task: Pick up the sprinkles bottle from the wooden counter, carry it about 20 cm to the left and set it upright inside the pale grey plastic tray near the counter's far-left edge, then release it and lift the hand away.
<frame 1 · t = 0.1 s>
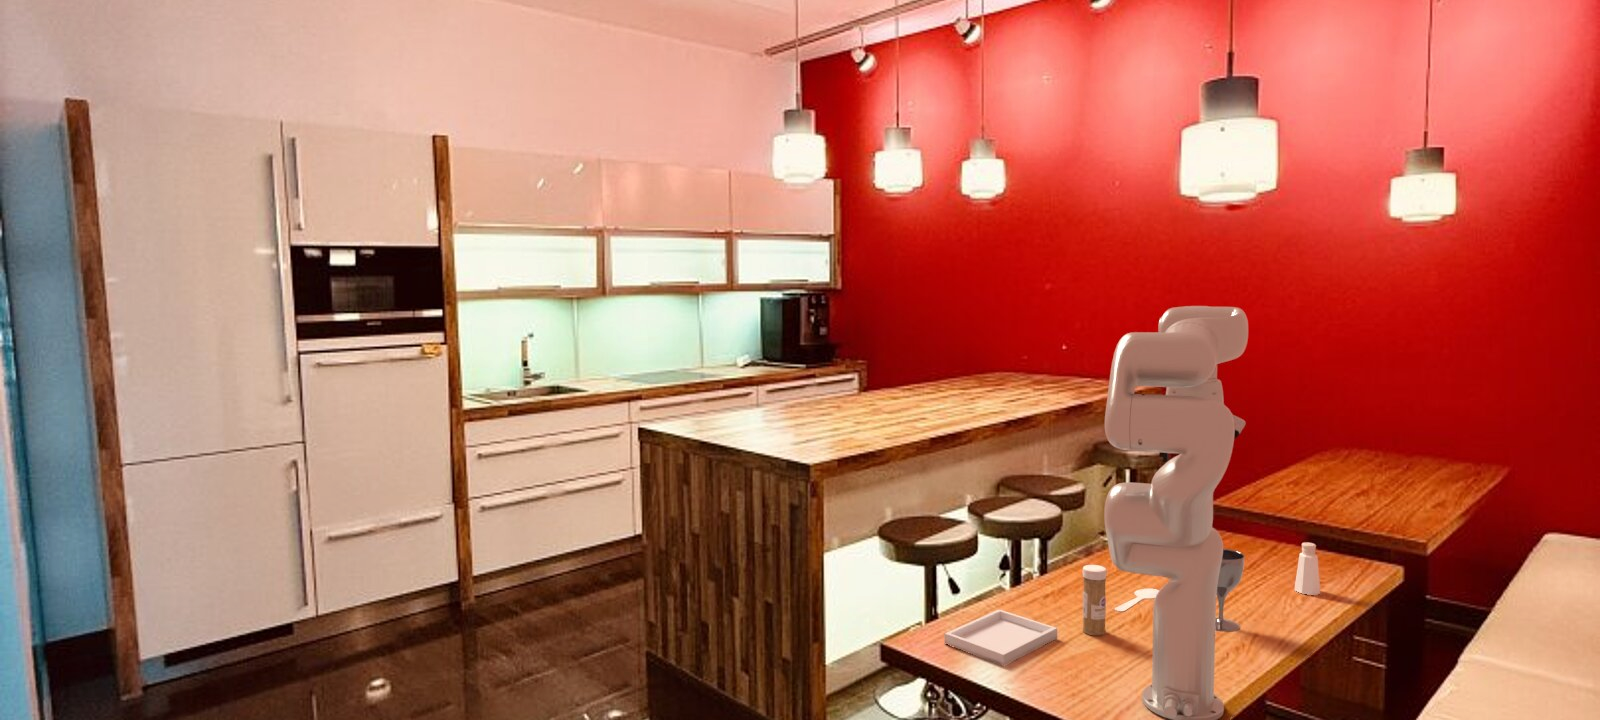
hand: (1193, 462, 167), 37 cm above the table, tool pointing down, fingers open, 9 cm apart
wine glass: (1220, 625, 183), on the table
salt shaker: (1307, 592, 200), on the table
sprinkles bottle: (1093, 632, 181), on the table
tray: (1001, 641, 177), on the table
spoon: (1137, 602, 197), on the table
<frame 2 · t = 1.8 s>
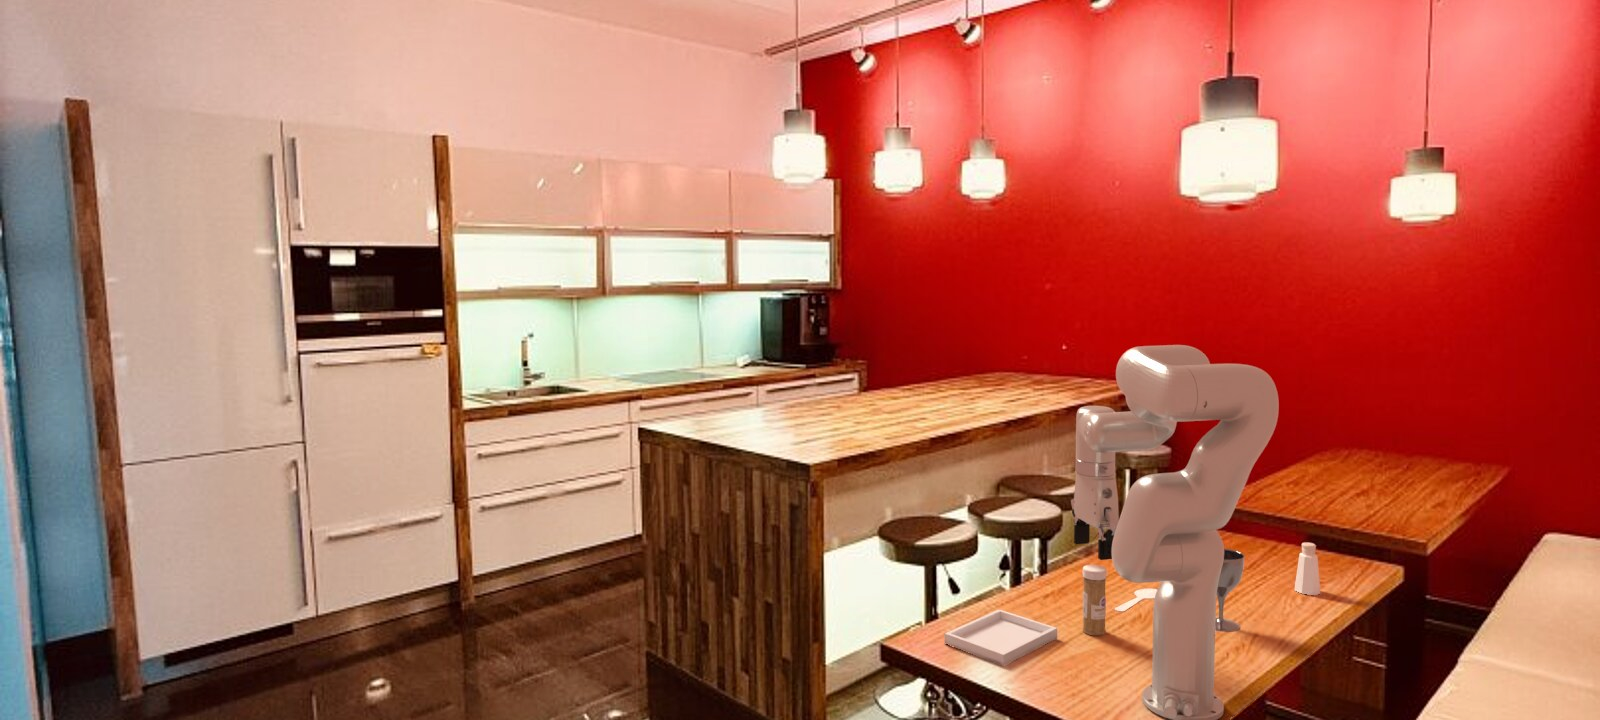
hand: (1093, 551, 179), 17 cm above the table, tool pointing down, fingers open, 9 cm apart
nothing on the table moved.
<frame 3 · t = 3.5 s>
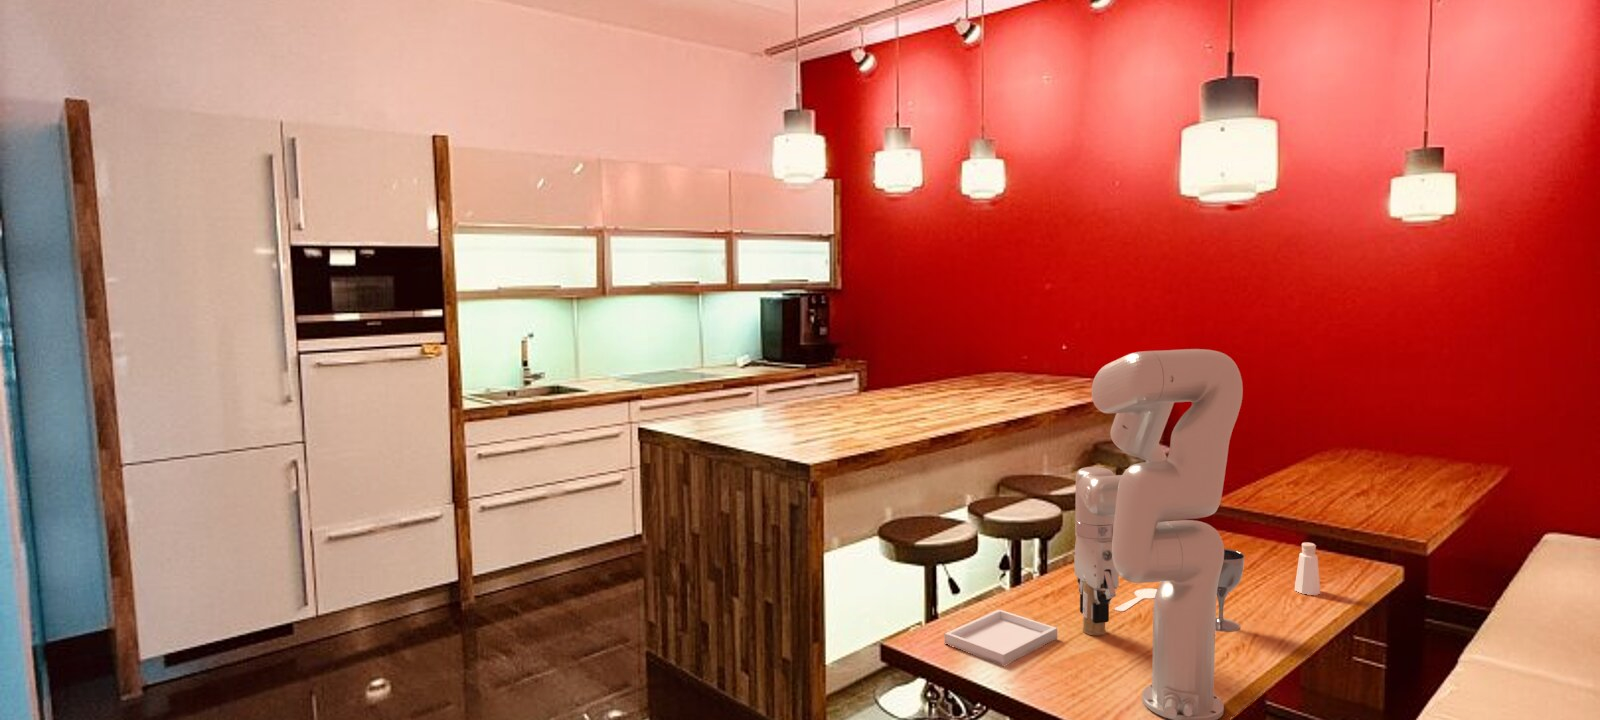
hand: (1094, 616, 180), 3 cm above the table, tool pointing down, fingers closed on sprinkles bottle, 4 cm apart
sprinkles bottle: (1093, 632, 181), on the table, touching gripper
everything else where it was.
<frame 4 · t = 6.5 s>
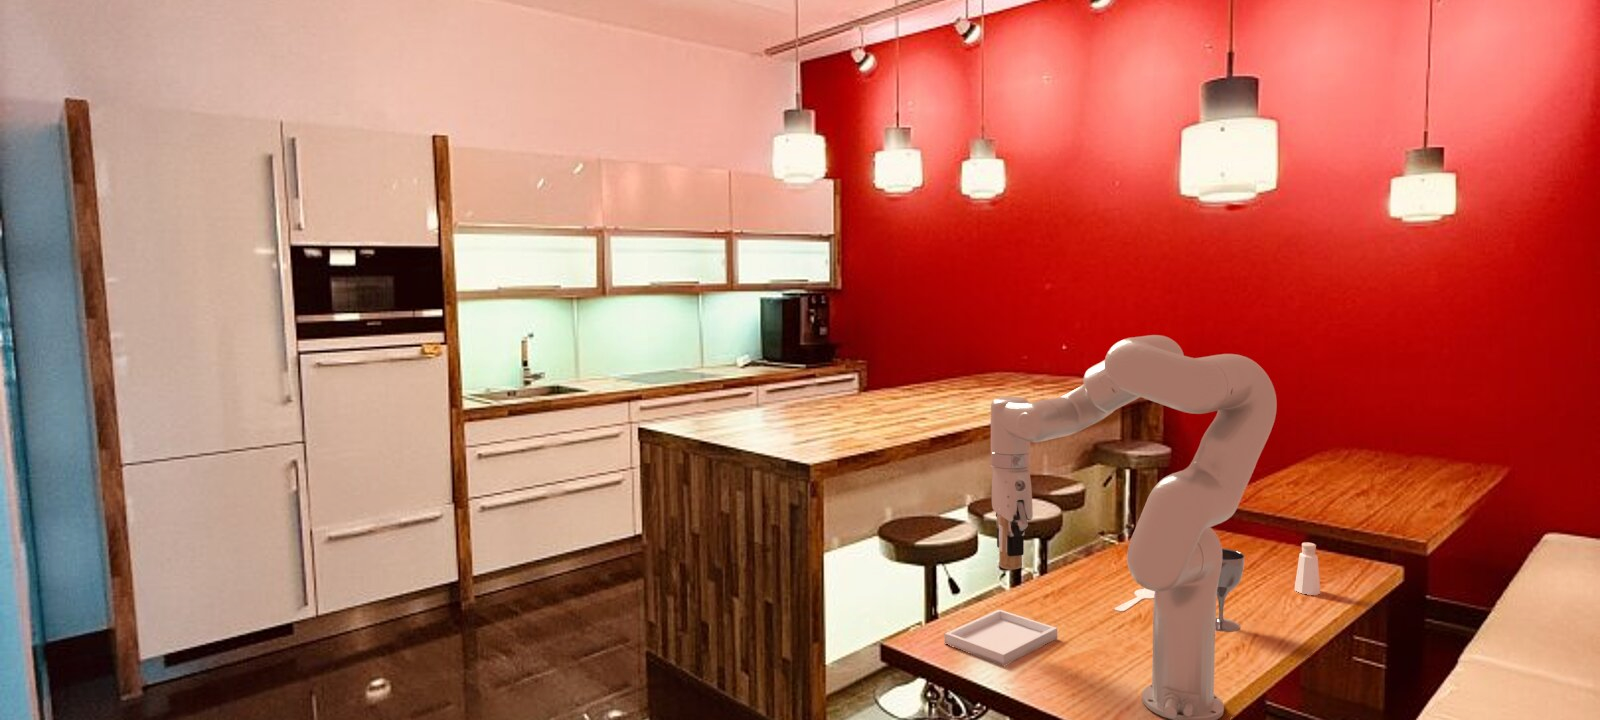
hand: (1010, 550, 176), 18 cm above the table, tool pointing down, fingers closed on sprinkles bottle, 4 cm apart
sprinkles bottle: (1010, 567, 176), point 15 cm above the table, touching gripper
everything else where it was.
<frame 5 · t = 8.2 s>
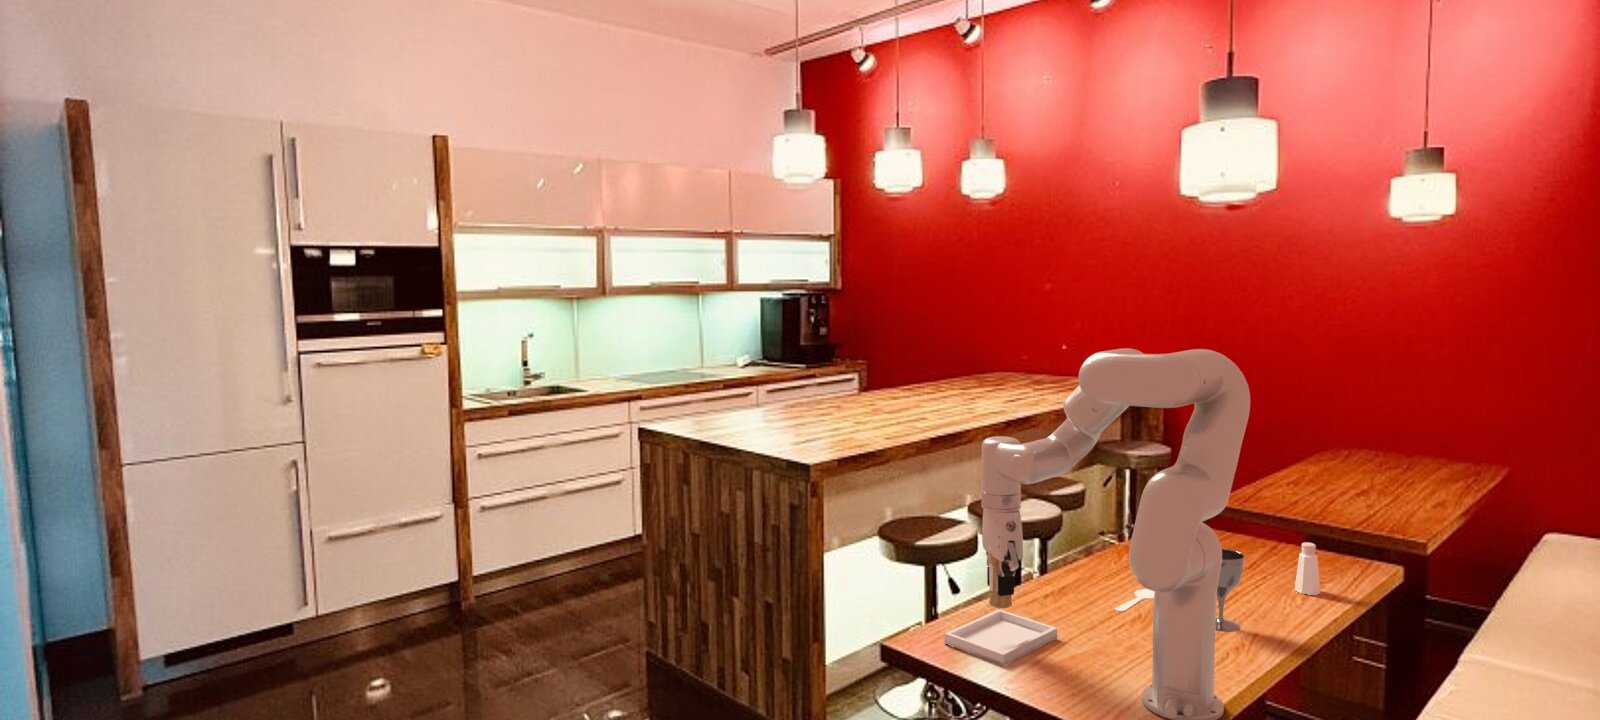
hand: (1000, 589, 176), 11 cm above the table, tool pointing down, fingers closed on sprinkles bottle, 4 cm apart
sprinkles bottle: (1000, 606, 176), point 7 cm above the table, touching gripper
everything else where it was.
when the fingers open (5 cm above the table, at t = 9.5 s): sprinkles bottle drops 1 cm, resting on tray.
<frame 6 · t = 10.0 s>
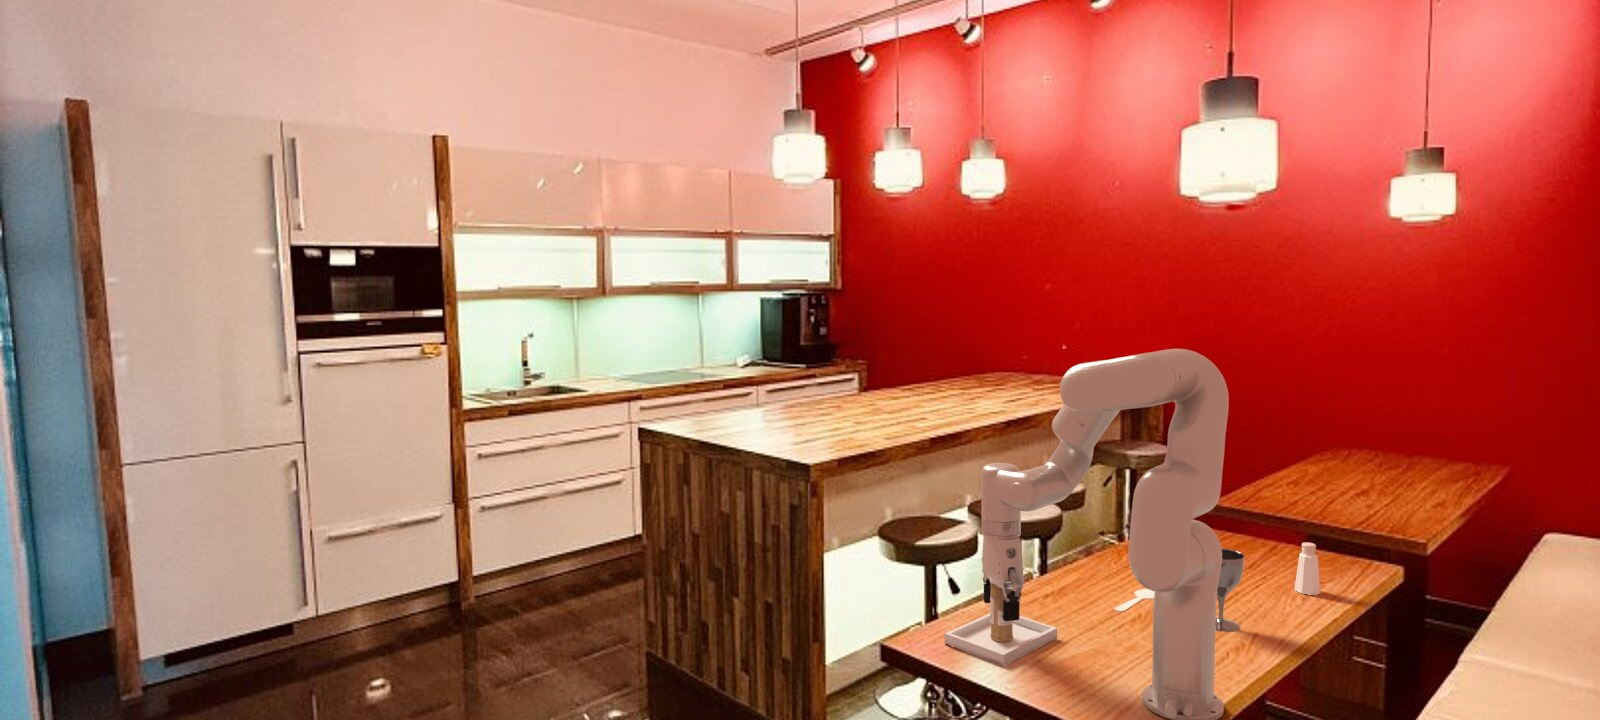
hand: (1001, 610, 176), 6 cm above the table, tool pointing down, fingers open, 9 cm apart
sprinkles bottle: (1001, 639, 177), resting on tray
everything else where it was.
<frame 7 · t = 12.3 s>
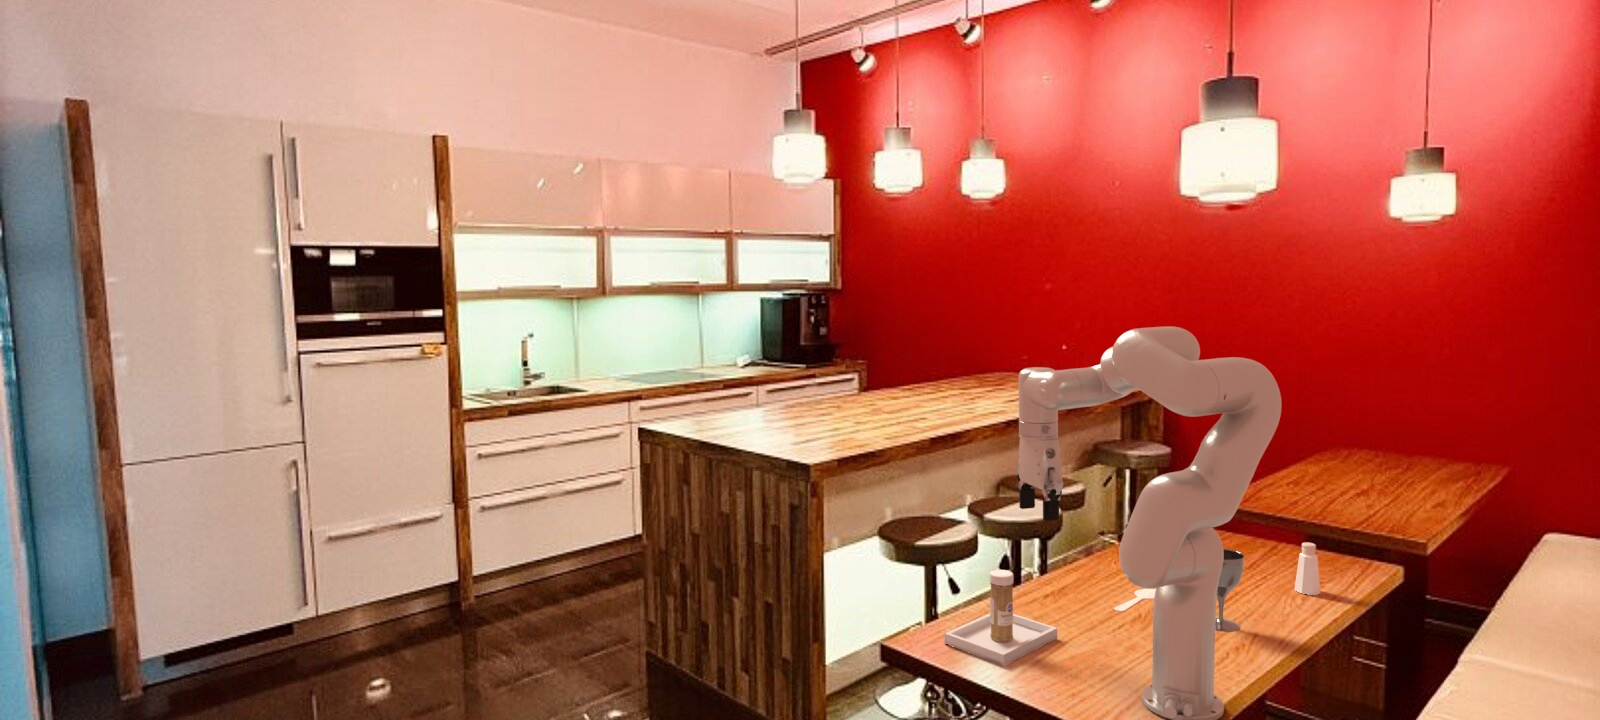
hand: (1038, 513, 178), 25 cm above the table, tool pointing down, fingers open, 9 cm apart
nothing on the table moved.
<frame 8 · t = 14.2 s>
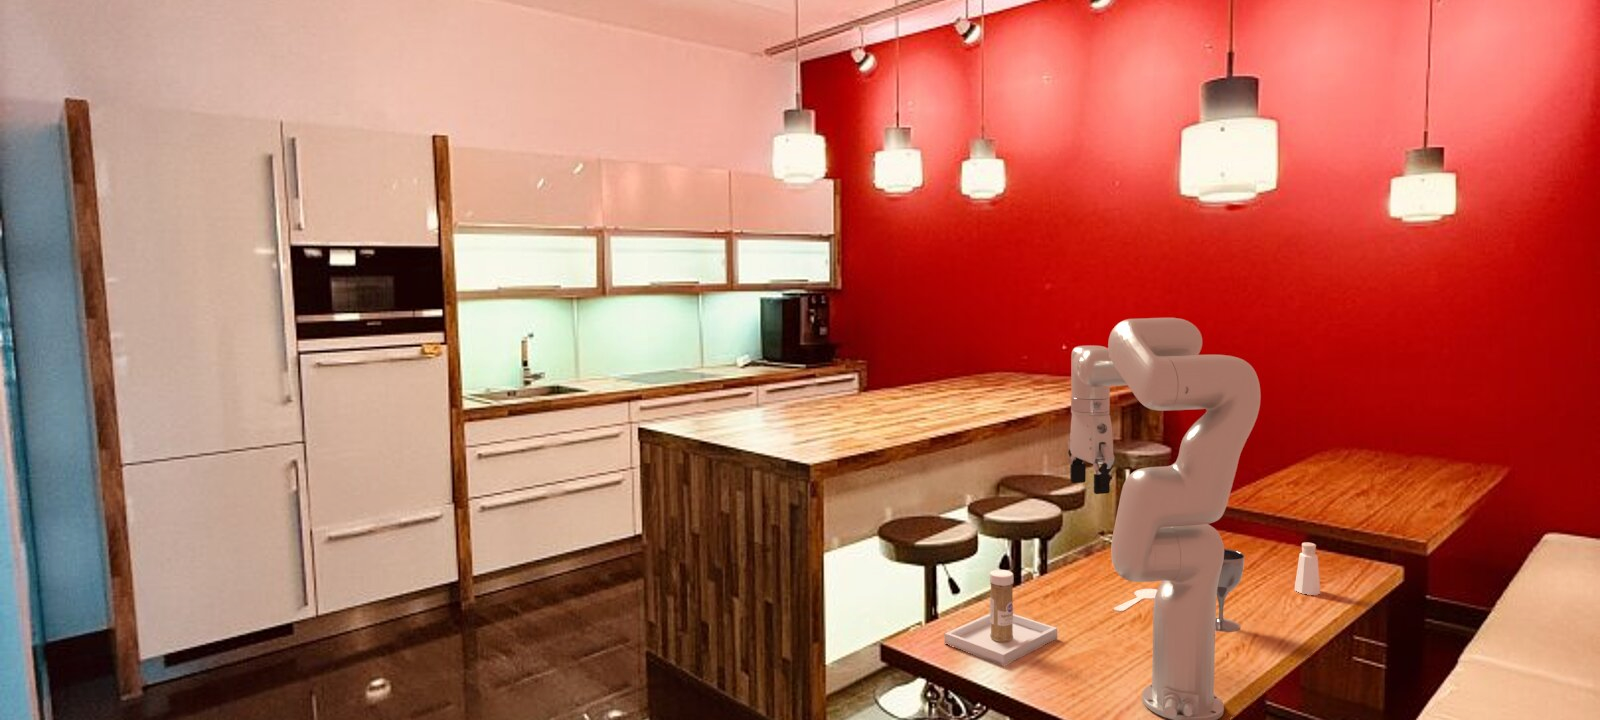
hand: (1089, 487, 184), 28 cm above the table, tool pointing down, fingers open, 9 cm apart
nothing on the table moved.
at the end: sprinkles bottle inside the target area on the tray (0.1 cm from its centre), point 0.4 cm above the tray's base; sprinkles bottle tilted 0°; the gripper is holding nothing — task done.
